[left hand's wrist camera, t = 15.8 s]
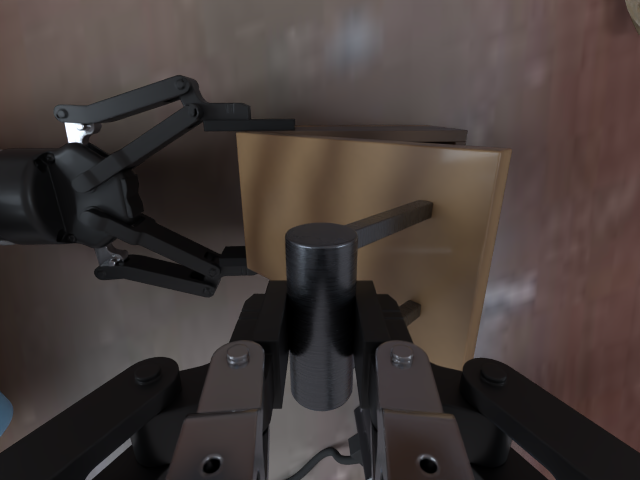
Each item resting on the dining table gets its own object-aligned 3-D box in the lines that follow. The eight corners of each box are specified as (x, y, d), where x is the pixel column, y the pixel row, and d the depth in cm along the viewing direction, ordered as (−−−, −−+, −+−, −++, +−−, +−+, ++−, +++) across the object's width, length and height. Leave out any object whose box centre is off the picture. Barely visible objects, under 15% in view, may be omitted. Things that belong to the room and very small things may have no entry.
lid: (512, 148, 13) (375, 179, 7) (472, 365, 17) (357, 503, 11) (251, 131, 24) (113, 138, 18) (260, 263, 28) (147, 304, 22)
